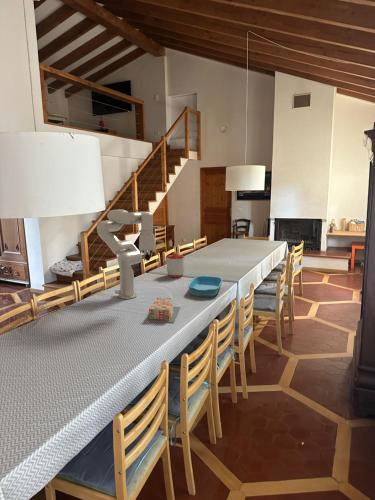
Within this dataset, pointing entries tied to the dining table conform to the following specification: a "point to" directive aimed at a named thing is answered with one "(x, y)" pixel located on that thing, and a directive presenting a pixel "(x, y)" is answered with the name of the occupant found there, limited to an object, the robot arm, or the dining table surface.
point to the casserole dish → (205, 286)
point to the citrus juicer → (175, 265)
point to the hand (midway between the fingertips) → (147, 260)
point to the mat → (172, 319)
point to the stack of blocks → (161, 309)
